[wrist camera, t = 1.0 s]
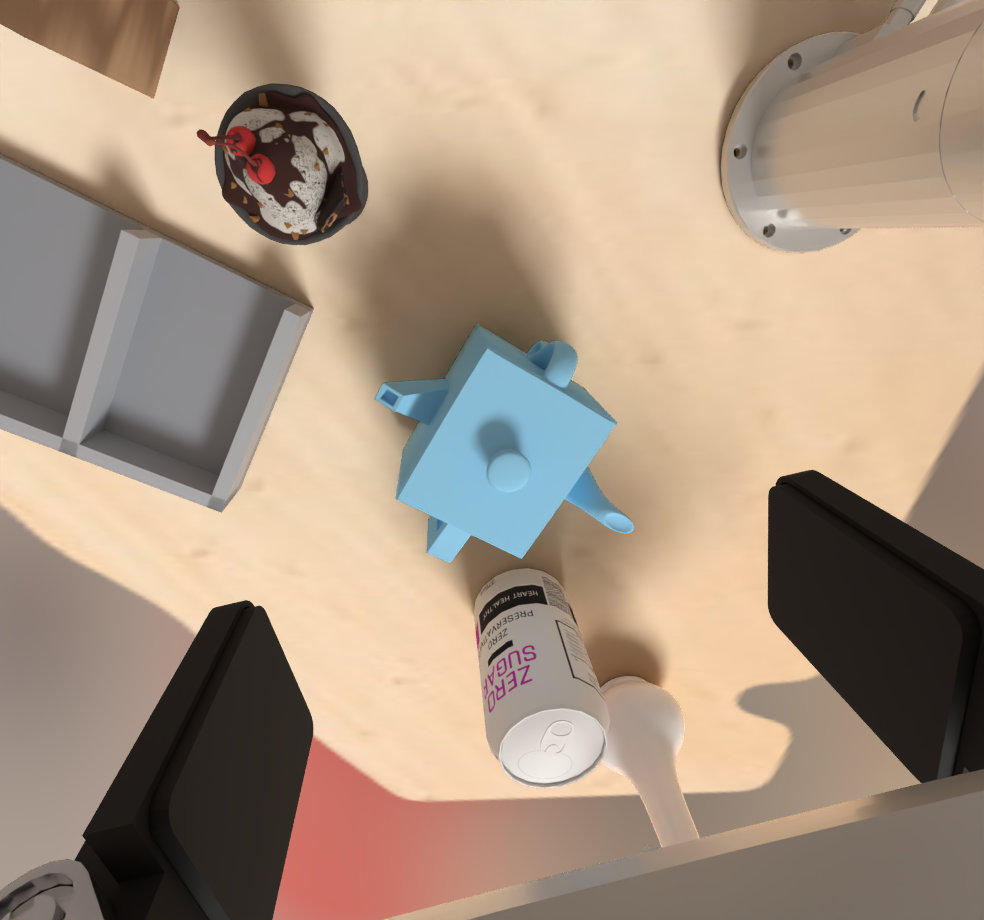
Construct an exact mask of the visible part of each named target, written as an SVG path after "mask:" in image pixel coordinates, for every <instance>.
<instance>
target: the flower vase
mask: <svg viewBox="0 0 984 920" xmlns="http://www.w3.org/2000/svg"><path fill="white" fill-rule="evenodd" d="M600 689H601V692H602V694H603V697H604V700H605V703H606V706H607V709H608V714H609V719H610V725H609V729H608V734H607V747H606V751H605V755H604V757H603V759H602V760H601V761H600V762H601V763H602V764H603V765H604V766H605V767H607V768H608V769H610V770H612V771H614V772H616V773H618V774H621V775H624V776H625V777H626V778H627V779H628V780H629V781H630V782H631V784H632V785H633V786H634V787H635V789H636V790H637V792H638V794H639V795H640V797H641V799H642V801H643V803H644V805H645V808H646V810H647V812H648V814H649V817H650V819H651V822H652V824H653V827H654V829H655V831H656V834H657V837H658V839H659V841H660V844H661V847H662V848H664V847H667V846H671V845H675V844H679V843H683V842H687V841H691V840H695V839H699V838H700V837H699V835H698V832H697V830H696V827H695V825H694V822H693V820H692V817H691V815H690V812H689V810H688V807H687V804H686V802H685V799H684V797H683V794H682V791H681V788H680V785H679V781H678V777H677V771H676V756H677V755H678V753H679V751H680V749H681V746H682V743H683V740H684V736H685V721H684V715H683V712H682V710H681V707H680V705H679V703H678V701H677V700H676V699H675V698H674V697H673V696H672V695H671V694H670V693H669V692H668V691H666V690H665V689H663V688H661V687H659V686H657V685H655V684H651V683H648V682H647V681H646V680H644V679H642V678H640V677H636V676H622V677H617V678H614V679H612V680H610V681H608V682H607V683H605V684H604V685H602V687H601V688H600ZM656 849H660V848H658V847H655V846H650V845H649V846H645V848H644V849H643V850H642V852H641V853H644V852H648V851H652V850H656Z"/></svg>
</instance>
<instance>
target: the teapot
mask: <svg viewBox="0 0 984 920" xmlns="http://www.w3.org/2000/svg"><path fill="white" fill-rule="evenodd" d="M576 364H577V353H576V352H575V350H574V349H573V348H572V347H571V346H570V345H569V344H567V343H565V342H562V341H553V342H551V343H548V342H545V341H539V342H537V343H535V344H534V345H533V346H532V348H531V349H530V350H529V351H528V353H525V352H524V351H522V350H520V349H519V348H517V347H515V346H514V345H512V344H510V343H509V342H507V341H505V340H504V339H502V338H501V337H499V336H497V335H496V334H494V333H492V332H491V331H489V330H487V329H486V328H484V327H482V326H481V325H479V324H477V323H476V325H475V326H474V328H473V330H472V331H471V333H470V335H469V337H468V338H467V340H466V342H465V344H464V345H463V347H462V349H461V350H460V352H459V354H458V356H457V357H456V359H455V361H454V362H453V364H452V366H451V368H450V369H449V371H448V373H447V374H446V376H445V378H444V379H431V380H415V381H400V382H384V383H383V384H382V386H381V388H380V390H379V392H378V393H377V395H376V397H375V400H377V401H378V402H380V403H382V404H383V405H385V406H386V407H388V408H389V409H391V410H393V411H394V412H396V411H397V412H399V413H401V414H403V415H406V416H408V417H410V418H412V419H415V420H417V421H419V423H418V425H417V426H416V428H415V430H414V432H413V433H412V435H411V437H410V439H409V440H408V442H407V444H406V446H405V447H404V449H403V452H402V459H401V466H400V473H399V479H398V486H397V493H396V499H397V500H399V501H401V502H403V503H405V504H407V505H410V506H412V507H414V508H416V509H418V510H420V511H422V512H424V513H426V514H428V515H431V516H430V518H429V520H428V535H427V553H428V554H430V555H432V556H435V557H437V558H439V559H441V560H443V561H446V562H448V563H450V562H451V561H452V560H453V559H454V557H455V556H456V555H457V553H458V552H459V551H460V549H461V548H462V547H463V545H464V544H465V543H466V541H467V540H468V539H469V537H470V536H471V535H472V536H474V537H477V538H479V539H481V540H483V541H485V542H487V543H489V544H491V545H493V546H495V547H498V548H500V549H502V550H504V551H506V552H508V553H510V554H512V555H514V556H516V557H519V558H521V559H522V558H523V556H524V555H525V554H526V552H527V551H528V549H529V548H530V547H531V545H532V544H533V543H534V541H535V540H536V538H537V537H538V536H539V534H540V533H541V531H542V530H543V529H544V527H545V526H546V524H547V523H548V522H549V520H550V519H551V517H552V516H553V515H554V513H555V512H556V510H557V509H558V507H559V506H560V505H561V503H562V502H563V500H564V499H565V500H567V501H568V502H570V503H572V504H574V505H575V506H577V507H578V508H580V509H582V510H583V511H585V512H586V513H588V514H589V515H591V516H592V517H593V518H595V519H596V520H598V521H599V522H600V523H602V524H603V525H605V526H606V527H608V528H610V529H612V530H614V531H616V532H619V533H625V534H626V533H631V532H632V531H633V530H634V525H633V523H632V521H631V520H630V519H629V518H628V517H627V516H626V515H625V514H623V513H622V512H621V511H619V510H618V509H617V508H616V507H614V506H613V505H612V504H611V503H610V502H609V501H608V500H607V498H606V497H605V496H604V495H603V493H602V492H601V490H600V488H599V487H598V485H597V483H596V481H595V479H594V477H593V475H592V474H591V472H590V470H589V468H588V467H587V466H588V465H589V463H590V462H591V460H592V459H593V457H594V456H595V455H596V453H597V452H598V450H599V449H600V447H601V446H602V444H603V443H604V441H605V440H606V439H607V437H608V436H609V434H610V433H611V431H612V430H613V428H614V427H615V425H616V424H617V422H616V421H615V420H614V419H613V418H612V417H611V416H610V415H609V414H608V413H607V411H606V410H605V409H604V408H603V407H602V406H601V405H600V404H599V403H598V402H597V401H596V400H595V399H594V398H593V397H592V396H591V395H590V394H589V393H588V392H587V391H586V389H585V388H584V387H582V386H580V385H579V384H577V383H575V382H574V381H572V380H571V378H572V376H573V373H574V371H575V368H576Z"/></svg>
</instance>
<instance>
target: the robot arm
mask: <svg viewBox="0 0 984 920" xmlns="http://www.w3.org/2000/svg"><path fill="white" fill-rule="evenodd" d="M925 1H926V0H897V2H896V3H895V5H894V6H893V8H892V9H891V11H890V15H889V16H888V18H887V19H886V21H885V23H884V24H883V25H881V26H879V27H877V28H874V29H872V30H870V31H868V32H866V33H864V34H858V33H854V32H829V33H825V34H821V35H817V36H813V37H811V38H809V39H807V40H804V41H802V42H800V43H798V44H796V45H794V46H792V47H791V48H789V49H788V50H786V51H784V52H783V53H781V54H779V55H778V56H776V57H775V58H774V59H773V60H772V61H771V62H770V63H769V64H767V65H766V66H765V67H764V68H763V69H762V70H761V71H760V72H759V73H758V74H757V76H756V77H755V78H754V79H753V81H752V82H751V83H750V84H749V85H748V87H747V88H746V90H745V91H744V93H743V95H742V97H741V98H740V100H739V102H738V103H737V105H736V107H735V109H734V112H733V114H732V117H731V119H730V122H729V124H728V127H727V131H726V135H725V139H724V143H723V148H722V159H721V177H722V187H723V192H724V195H725V199H726V202H727V206H728V208H729V210H730V212H731V214H732V216H733V218H734V220H735V222H736V223H737V224H738V225H739V226H740V228H741V229H742V230H743V231H744V233H745V234H746V235H748V236H749V237H750V238H752V239H753V240H754V241H756V242H757V243H758V244H760V245H763V246H765V247H767V248H769V249H772V250H776V251H782V252H787V253H807V252H814V251H820V250H823V249H826V248H829V247H832V246H835V245H837V244H839V243H841V242H843V241H844V240H846V239H848V238H850V237H851V236H853V235H854V234H855V233H857V232H858V231H859V230H860V229H862V228H960V227H984V0H938V1H937V3H936V4H935V6H934V8H933V9H932V11H931V12H930V14H929V15H928V16H927V17H925V18H923V19H921V20H918V21H916V22H914V23H911V24H910V22H912V21H913V20H914V18H915V17H916V15H917V14H918V12H919V11H920V9H921V8H922V6H923V5H924V3H925ZM788 63H789V67H788ZM734 149H735V150H736V152H737V154H736V156H734ZM764 228H765V232H764V233H763V229H764ZM768 609H769V613H770V615H771V618H772V619H773V621H774V623H775V624H776V625H777V627H778V628H779V629H780V630H781V631H782V632H783V633H784V634H785V635H786V636H787V638H788V639H789V640H790V641H791V642H792V643H793V644H794V645H795V646H796V647H797V648H798V650H799V651H800V652H801V653H802V654H803V655H804V656H805V657H806V658H807V659H808V661H809V662H810V663H811V664H812V665H813V666H814V667H815V668H816V669H817V670H818V671H819V673H820V674H821V675H822V676H823V677H824V678H825V679H826V680H827V681H828V682H829V683H830V684H831V686H832V687H833V688H834V689H835V690H836V691H837V692H838V693H839V694H840V695H841V697H842V698H843V699H844V700H845V701H846V702H847V703H848V704H849V705H850V706H851V708H852V709H853V710H854V711H855V712H856V713H857V714H858V715H859V716H860V717H861V719H862V720H863V721H864V722H865V723H866V724H867V725H868V726H869V727H870V728H871V729H872V731H873V732H874V733H875V734H876V735H877V736H878V737H879V738H880V739H881V740H882V741H883V743H884V744H885V745H886V746H887V747H888V748H889V749H890V750H891V751H892V752H893V754H894V755H895V756H896V757H897V758H898V759H899V760H900V761H901V762H902V763H903V764H904V765H905V767H906V768H907V769H908V770H909V771H910V772H911V773H912V774H913V775H914V776H915V777H916V778H917V779H918V780H919V781H920V782H921V784H917V785H913V786H909V787H905V788H901V789H897V790H893V791H889V792H885V793H881V794H877V795H873V796H868V797H864V798H860V799H856V800H852V801H848V802H844V803H840V804H836V805H832V806H828V807H824V808H820V809H816V810H812V811H808V812H804V813H800V814H795V815H792V816H788V817H783V818H779V819H775V820H771V821H768V822H763V823H759V824H755V825H751V826H747V827H743V828H739V829H735V830H731V831H727V832H723V833H719V834H715V835H711V836H708V837H703V838H699V839H695V840H691V841H687V842H683V843H679V844H675V845H671V846H667V847H664V848H660V849H656V850H652V851H648V852H644V853H640V854H636V855H632V856H628V857H624V858H620V859H616V860H612V861H609V862H605V863H600V864H596V865H592V866H588V867H585V868H581V869H577V870H573V871H569V872H565V873H561V874H557V875H553V876H549V877H545V878H542V879H538V880H534V881H529V882H526V883H522V884H518V885H514V886H510V887H506V888H502V889H498V890H495V891H491V892H487V893H483V894H479V895H475V896H471V897H467V898H464V899H460V900H456V901H452V902H448V903H444V904H441V905H437V906H433V907H429V908H425V909H422V910H417V911H414V912H410V913H406V914H402V915H398V916H394V917H391V918H387V919H383V920H984V569H982V568H980V567H979V566H977V565H975V564H974V563H972V562H970V561H968V560H967V559H965V558H963V557H962V556H960V555H958V554H957V553H955V552H953V551H952V550H950V549H948V548H947V547H945V546H943V545H941V544H940V543H938V542H936V541H934V540H933V539H931V538H930V537H928V536H926V535H924V534H923V533H921V532H919V531H918V530H916V529H914V528H913V527H911V526H909V525H908V524H906V523H904V522H902V521H901V520H899V519H897V518H896V517H894V516H892V515H891V514H889V513H887V512H885V511H884V510H882V509H880V508H879V507H877V506H875V505H874V504H872V503H870V502H869V501H867V500H865V499H863V498H862V497H860V496H858V495H857V494H855V493H853V492H852V491H850V490H848V489H846V488H845V487H843V486H841V485H840V484H838V483H836V482H835V481H833V480H831V479H830V478H828V477H826V476H824V475H823V474H821V473H819V472H817V471H815V470H808V471H804V472H799V473H795V474H791V475H786V476H782V477H780V478H779V479H778V480H777V482H776V486H774V487H772V488H771V489H770V491H769V496H768ZM312 737H313V721H312V716H311V713H310V711H309V709H308V707H307V704H306V702H305V700H304V697H303V695H302V693H301V691H300V688H299V686H298V684H297V682H296V679H295V677H294V675H293V672H292V670H291V668H290V666H289V663H288V661H287V659H286V657H285V654H284V652H283V650H282V647H281V645H280V643H279V641H278V638H277V636H276V634H275V632H274V629H273V627H272V625H271V622H270V620H269V618H268V616H267V613H266V611H265V610H264V608H263V607H262V606H256V607H254V605H253V604H252V603H251V602H250V601H247V600H245V601H241V602H237V603H232V604H228V605H224V606H219V607H216V608H213V609H212V610H211V611H210V613H209V614H208V616H207V618H206V620H205V621H204V623H203V625H202V627H201V628H200V630H199V632H198V634H197V635H196V637H195V639H194V641H193V642H192V644H191V646H190V648H189V650H188V651H187V653H186V655H185V657H184V658H183V660H182V662H181V664H180V665H179V667H178V669H177V671H176V672H175V674H174V676H173V678H172V679H171V681H170V683H169V685H168V686H167V688H166V690H165V692H164V693H163V695H162V697H161V699H160V700H159V702H158V704H157V706H156V707H155V709H154V711H153V713H152V715H151V716H150V718H149V720H148V721H147V723H146V725H145V727H144V729H143V730H142V732H141V734H140V735H139V737H138V739H137V741H136V742H135V744H134V746H133V748H132V749H131V751H130V753H129V755H128V757H127V758H126V760H125V762H124V763H123V765H122V767H121V769H120V770H119V772H118V774H117V776H116V777H115V779H114V781H113V783H112V785H111V786H110V788H109V790H108V791H107V793H106V795H105V797H104V798H103V800H102V802H101V804H100V806H99V807H98V809H97V811H96V813H95V814H94V816H93V818H92V820H91V822H90V823H89V825H88V826H87V828H86V830H85V832H84V834H83V837H84V839H85V840H86V841H85V842H84V844H83V846H82V848H81V850H80V851H79V853H78V855H77V857H76V859H75V860H70V859H65V860H59V861H53V862H49V863H47V864H44V865H42V866H40V867H37V868H35V869H33V870H31V871H29V872H27V873H26V874H24V875H22V876H21V877H19V878H18V879H16V880H14V881H13V882H11V883H10V884H8V885H7V886H6V887H4V888H3V889H2V890H1V891H0V920H272V918H273V914H274V909H275V905H276V900H277V896H278V891H279V886H280V882H281V878H282V873H283V868H284V864H285V859H286V855H287V850H288V846H289V841H290V837H291V832H292V828H293V823H294V819H295V814H296V810H297V804H298V801H299V796H300V792H301V787H302V782H303V778H304V774H305V769H306V765H307V760H308V756H309V751H310V747H311V742H312Z"/></svg>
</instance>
